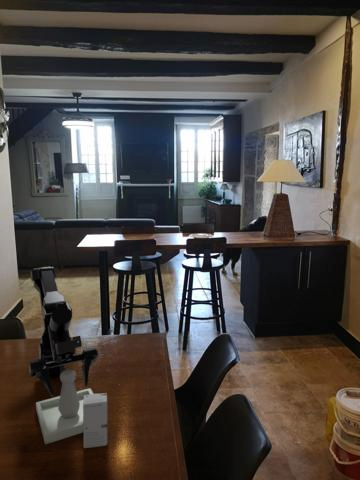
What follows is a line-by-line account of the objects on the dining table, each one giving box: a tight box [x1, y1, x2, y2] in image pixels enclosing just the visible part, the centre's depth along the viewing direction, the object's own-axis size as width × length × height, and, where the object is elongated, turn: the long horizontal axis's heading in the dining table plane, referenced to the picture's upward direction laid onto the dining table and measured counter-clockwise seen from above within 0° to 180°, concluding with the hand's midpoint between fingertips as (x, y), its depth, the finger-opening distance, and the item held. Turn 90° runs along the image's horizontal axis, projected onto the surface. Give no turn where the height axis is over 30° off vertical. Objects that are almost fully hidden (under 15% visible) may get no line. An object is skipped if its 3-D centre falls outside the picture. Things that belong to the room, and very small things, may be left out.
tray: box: [35, 387, 94, 445], centre depth 104 cm, size 16×16×2 cm
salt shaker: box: [58, 368, 80, 419], centre depth 103 cm, size 6×6×13 cm
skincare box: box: [83, 392, 108, 449], centre depth 94 cm, size 6×4×12 cm
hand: (69, 391), depth 102 cm, fingers open, 9 cm apart
